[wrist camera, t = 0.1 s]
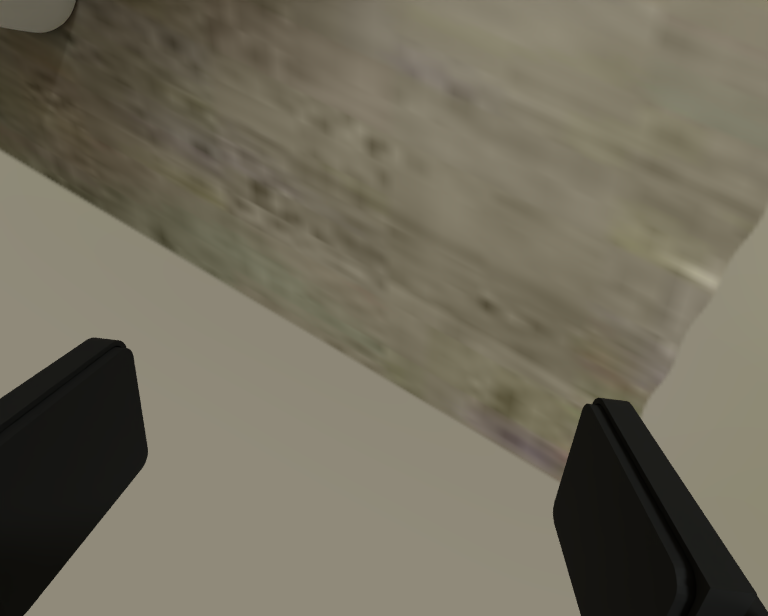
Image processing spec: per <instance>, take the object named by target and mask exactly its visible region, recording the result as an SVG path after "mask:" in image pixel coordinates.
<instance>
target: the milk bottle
mask: <svg viewBox="0 0 768 616" xmlns="http://www.w3.org/2000/svg"><path fill="white" fill-rule="evenodd" d="M75 2H76V0H0V27H3V28H8V29H14V30H19V31H26V32H34V33H45V32H49V31H52V30H54V29H56V28H58V27H59V26H61V25H62V24H64V23H65V21H66V20H67V19H68V18H69V17H70V15H71V13H72V11H73V9H74V6H75Z"/></svg>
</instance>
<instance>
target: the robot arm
mask: <svg viewBox="0 0 768 616" xmlns="http://www.w3.org/2000/svg"><path fill="white" fill-rule="evenodd" d="M147 455H148V447H147V441H146V435H145V428H144V422H143V415H142V409H141V402H140V396H139V390H138V383H137V376H136V370H135V365H134V357H133V354H132V351H131V350H130V349H128V348H126V346H125V344H124V343H123V342H122V341H119V340H110V339H102V338H90V339H88V340H86V341H85V342H83V343H82V344H80V345H79V346H77V347H76V348H74V349H73V350H71V351H70V352H68V353H67V354H65V355H64V356H63V357H61V358H60V359H58V360H57V361H55V362H54V363H52V364H51V365H49V366H48V367H46V368H45V369H43V370H42V371H40V372H39V373H37V374H36V375H35V376H33V377H32V378H30V379H29V380H27V381H26V382H24V383H23V384H21V385H20V386H18V387H17V388H15V389H14V390H12V391H11V392H9V393H8V394H6V395H5V396H4V397H2V398H1V399H0V616H23V615H24V614H25V613H26V612H27V611H28V610H29V609H30V608H31V606H32V605H33V604H34V602H35V601H36V600H37V599H38V598H39V596H40V595H41V594H42V592H43V591H44V590H45V589H46V588H47V586H48V585H49V584H50V583H51V581H52V580H53V579H54V577H55V576H56V575H57V574H58V573H59V571H60V570H61V569H62V568H63V566H64V565H65V564H66V562H67V561H68V560H69V559H70V558H71V556H72V555H73V554H74V553H75V551H76V550H77V549H78V548H79V546H80V545H81V544H82V543H83V541H84V540H85V539H86V537H87V536H88V535H89V534H90V533H91V531H92V530H93V529H94V528H95V526H96V525H97V524H98V523H99V521H100V520H101V519H102V518H103V516H104V515H105V514H106V512H107V511H108V510H109V509H110V508H111V506H112V505H113V504H114V503H115V501H116V500H117V499H118V498H119V497H120V495H121V494H122V493H123V492H124V490H125V489H126V488H127V487H128V485H129V484H130V483H131V481H132V480H133V479H134V478H135V476H136V475H137V474H138V473H139V471H140V470H141V469H142V468H143V466H144V464H145V462H146V459H147ZM553 518H554V524H555V528H556V531H557V535H558V538H559V541H560V545H561V548H562V552H563V555H564V558H565V562H566V565H567V569H568V572H569V576H570V579H571V583H572V586H573V590H574V593H575V597H576V600H577V604H578V607H579V610H580V614H581V616H768V612H767V610H766V609H765V607H764V606H763V604H762V602H761V601H760V600H759V598H758V597H757V594H756V592H755V590H754V589H753V587H752V586H751V584H750V583H749V581H748V580H747V578H746V577H745V575H744V574H743V572H742V571H741V569H740V568H739V566H738V565H737V563H736V562H735V560H734V559H733V557H732V556H731V554H730V553H729V551H728V550H727V548H726V547H725V545H724V543H723V542H722V540H721V539H720V537H719V536H718V534H717V533H716V531H715V530H714V529H713V527H712V525H711V524H710V522H709V521H708V519H707V518H706V516H705V515H704V513H703V512H702V510H701V509H700V507H699V506H698V504H697V503H696V501H695V500H694V498H693V497H692V495H691V494H690V492H689V491H688V489H687V488H686V486H685V485H684V483H683V482H682V480H681V479H680V477H679V476H678V474H677V473H676V471H675V470H674V468H673V467H672V465H671V464H670V462H669V460H668V459H667V458H666V456H665V455H664V453H663V451H662V450H661V448H660V447H659V445H658V444H657V442H656V441H655V439H654V438H653V437H652V435H651V434H650V432H649V430H648V429H647V427H646V426H645V424H644V423H643V421H642V420H641V418H640V417H639V415H638V414H637V412H636V411H635V409H634V408H633V406H632V405H631V404H630V403H629V402H627V401H621V400H613V399H604V398H597V399H595V400H594V402H593V404H586V405H585V406H584V407H583V410H582V413H581V416H580V419H579V423H578V426H577V429H576V433H575V436H574V439H573V443H572V446H571V449H570V453H569V456H568V459H567V462H566V466H565V469H564V472H563V476H562V479H561V482H560V486H559V489H558V493H557V496H556V499H555V502H554V507H553Z"/></svg>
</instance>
